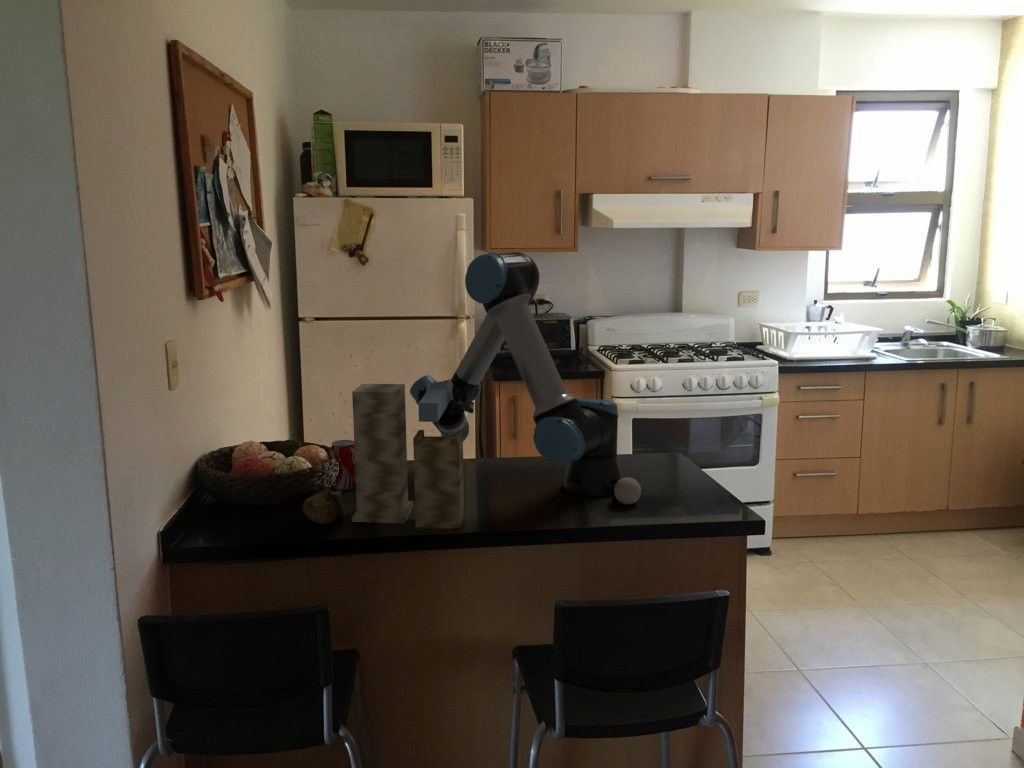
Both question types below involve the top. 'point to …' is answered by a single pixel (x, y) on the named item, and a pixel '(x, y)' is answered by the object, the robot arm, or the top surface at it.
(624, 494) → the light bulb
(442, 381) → the robot arm
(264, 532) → the top surface
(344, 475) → the soda can
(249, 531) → the top surface
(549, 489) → the top surface
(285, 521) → the top surface
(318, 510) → the onion
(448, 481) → the rest block
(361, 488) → the stand
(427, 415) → the rod
